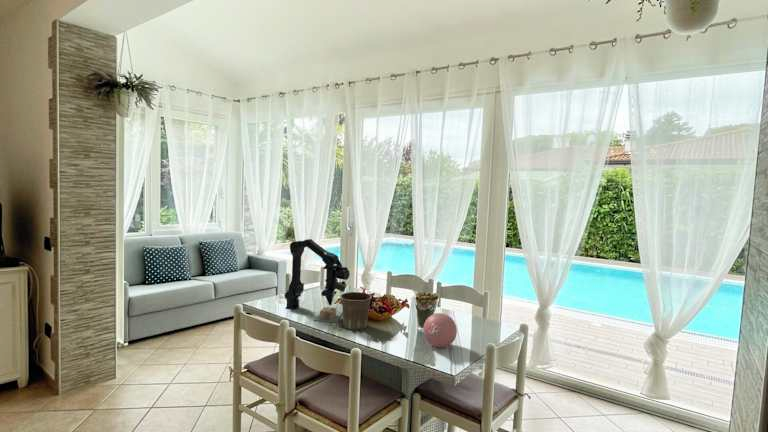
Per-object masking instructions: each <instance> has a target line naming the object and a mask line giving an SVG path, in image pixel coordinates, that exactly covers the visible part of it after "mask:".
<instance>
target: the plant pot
mask: <svg viewBox="0 0 768 432" xmlns="http://www.w3.org/2000/svg"><path fill="white" fill-rule="evenodd" d="M340 298H341V305H342V312H343V313H342V318H343V319H342V322H343V324H342V325H343V327H344V328H345V329H346V330H352V331H358V330H365V329H366V328H367V327H368V317H369V311H370V306H371V302H372V301H371V300H372V298H373V297H372V295H371V294H369V293H366V292H359V291H358V292H357V291H353V292H352V291H349V292H345V293H344V292H343V293H342V294H340Z"/></svg>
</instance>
